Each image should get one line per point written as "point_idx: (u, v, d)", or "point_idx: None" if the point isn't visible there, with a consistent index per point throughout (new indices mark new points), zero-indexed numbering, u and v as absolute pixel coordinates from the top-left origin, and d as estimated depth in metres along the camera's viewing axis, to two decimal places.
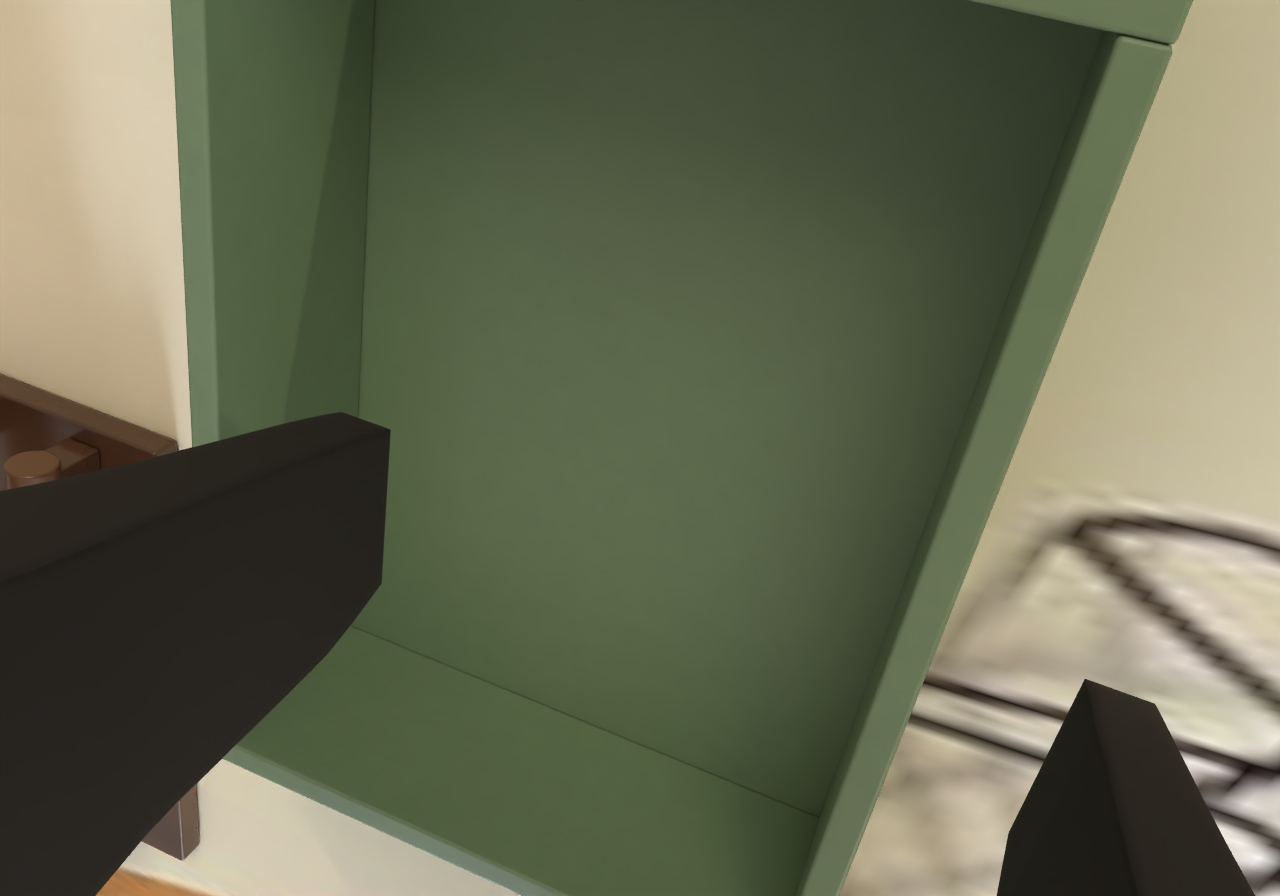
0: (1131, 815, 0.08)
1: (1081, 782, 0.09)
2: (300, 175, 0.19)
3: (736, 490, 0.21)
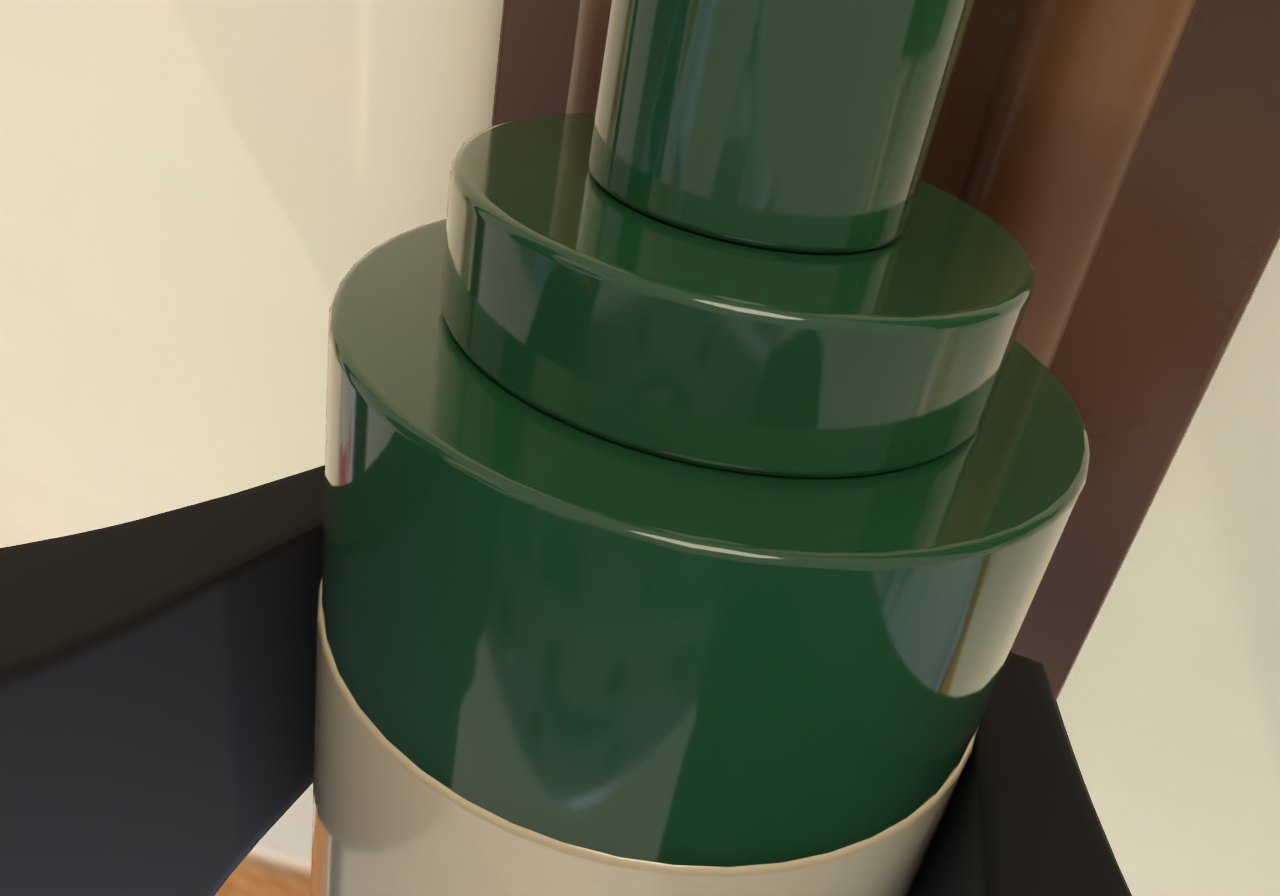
0: (993, 762, 0.08)
1: None
2: None
3: None
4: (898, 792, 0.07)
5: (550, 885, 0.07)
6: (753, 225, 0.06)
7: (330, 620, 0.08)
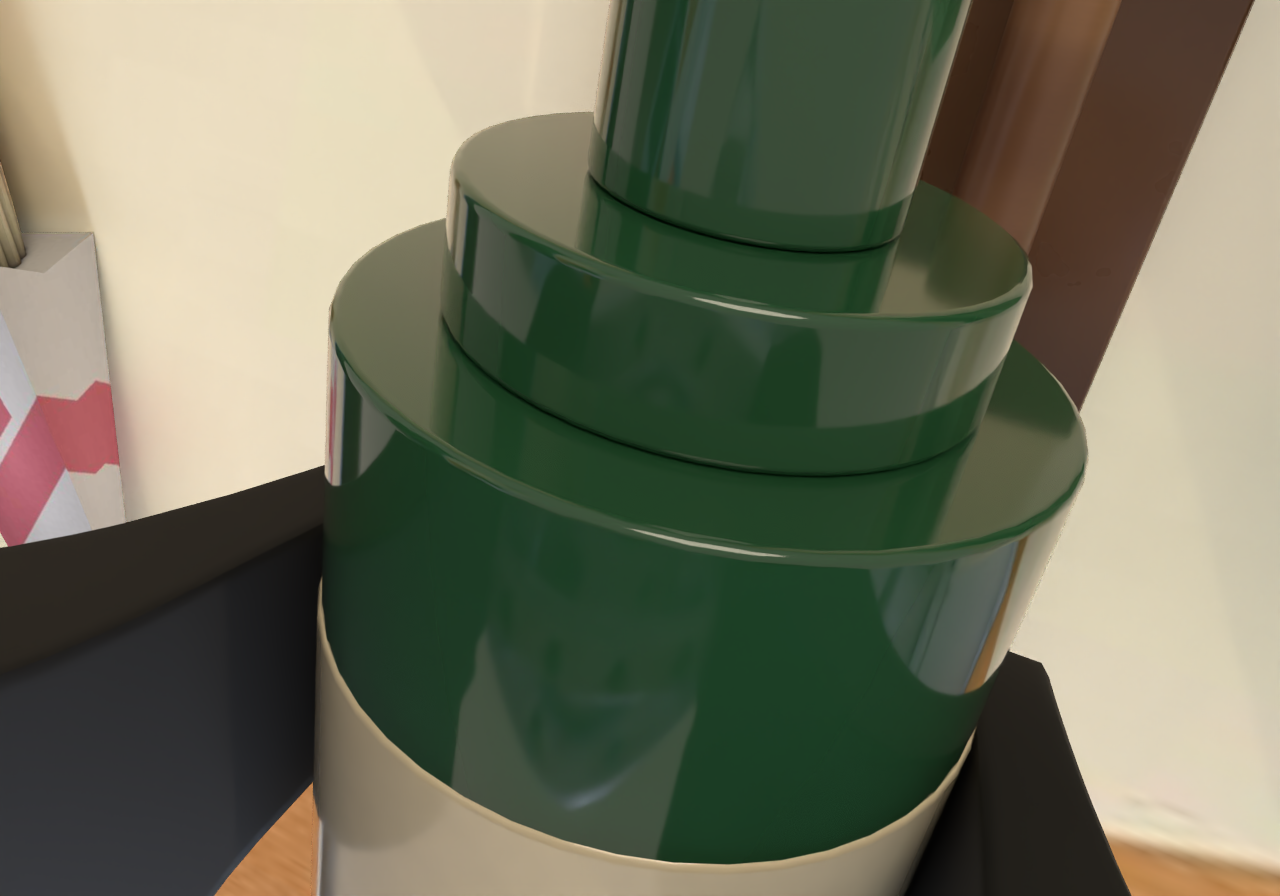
0: (992, 762, 0.08)
1: None
2: None
3: None
4: (896, 790, 0.07)
5: (549, 882, 0.07)
6: (752, 224, 0.06)
7: (329, 618, 0.08)
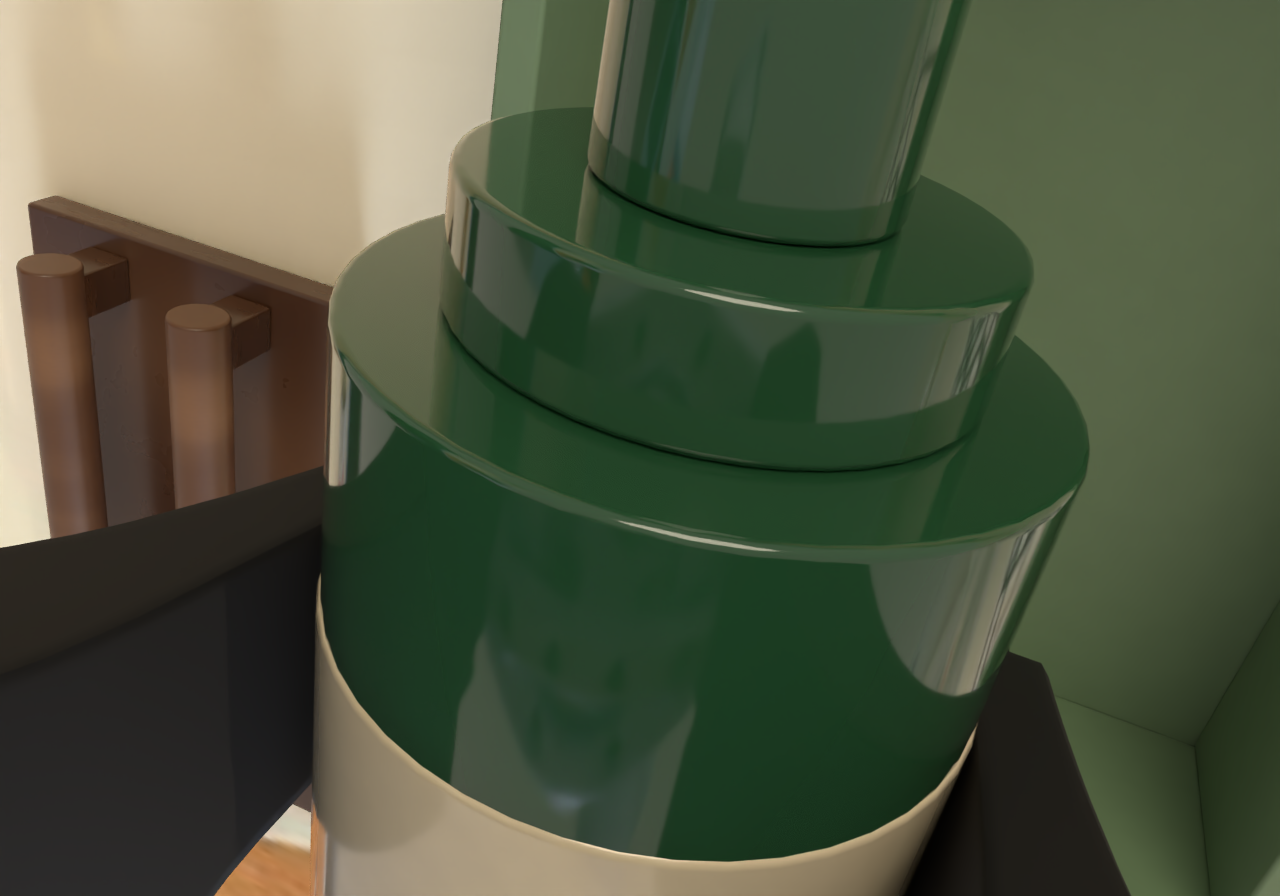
0: (992, 761, 0.08)
1: None
2: None
3: (1151, 312, 0.16)
4: (898, 788, 0.07)
5: (550, 879, 0.07)
6: (752, 218, 0.06)
7: (328, 616, 0.07)
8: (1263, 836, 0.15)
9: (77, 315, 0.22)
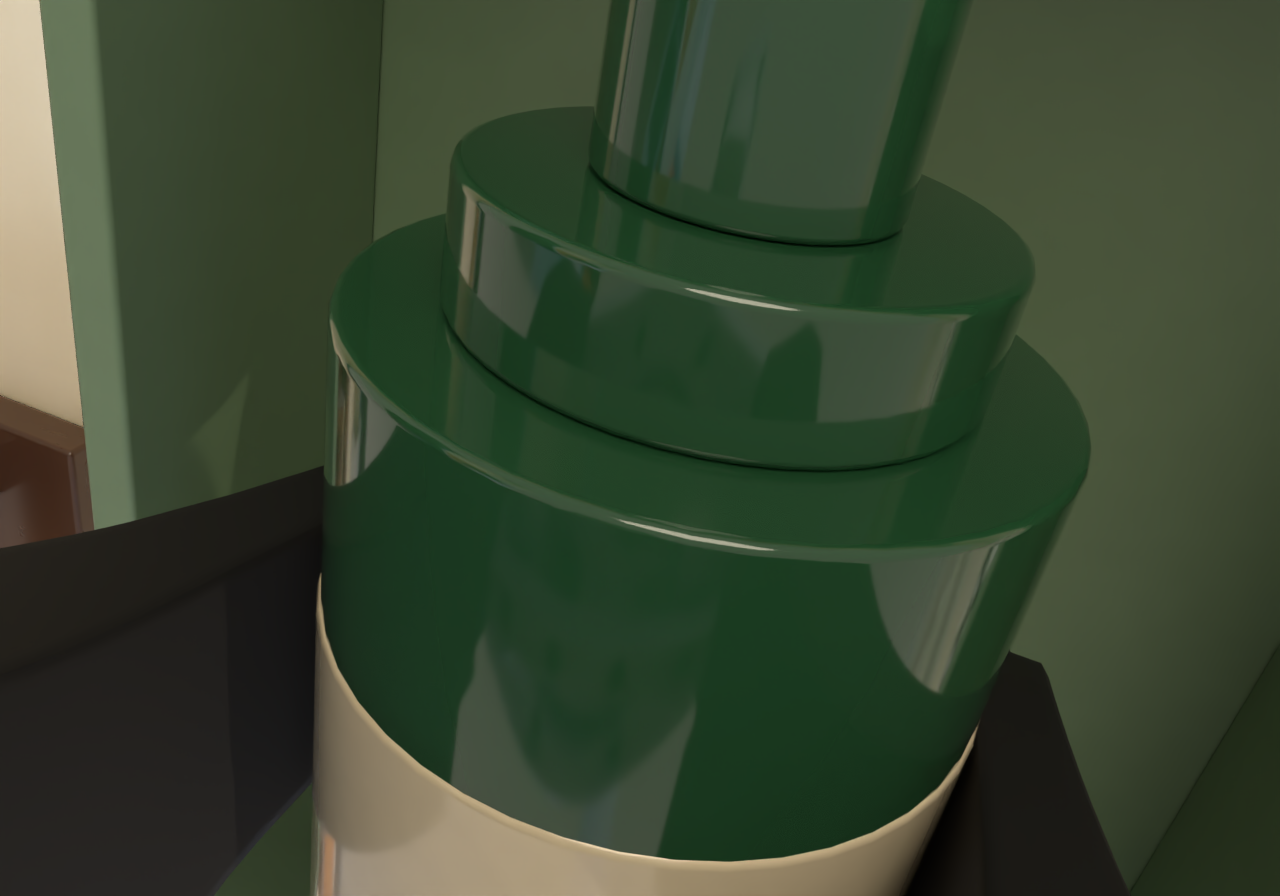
0: (992, 761, 0.08)
1: None
2: None
3: None
4: (900, 787, 0.07)
5: (552, 879, 0.07)
6: (754, 217, 0.06)
7: (327, 615, 0.07)
8: None
9: None
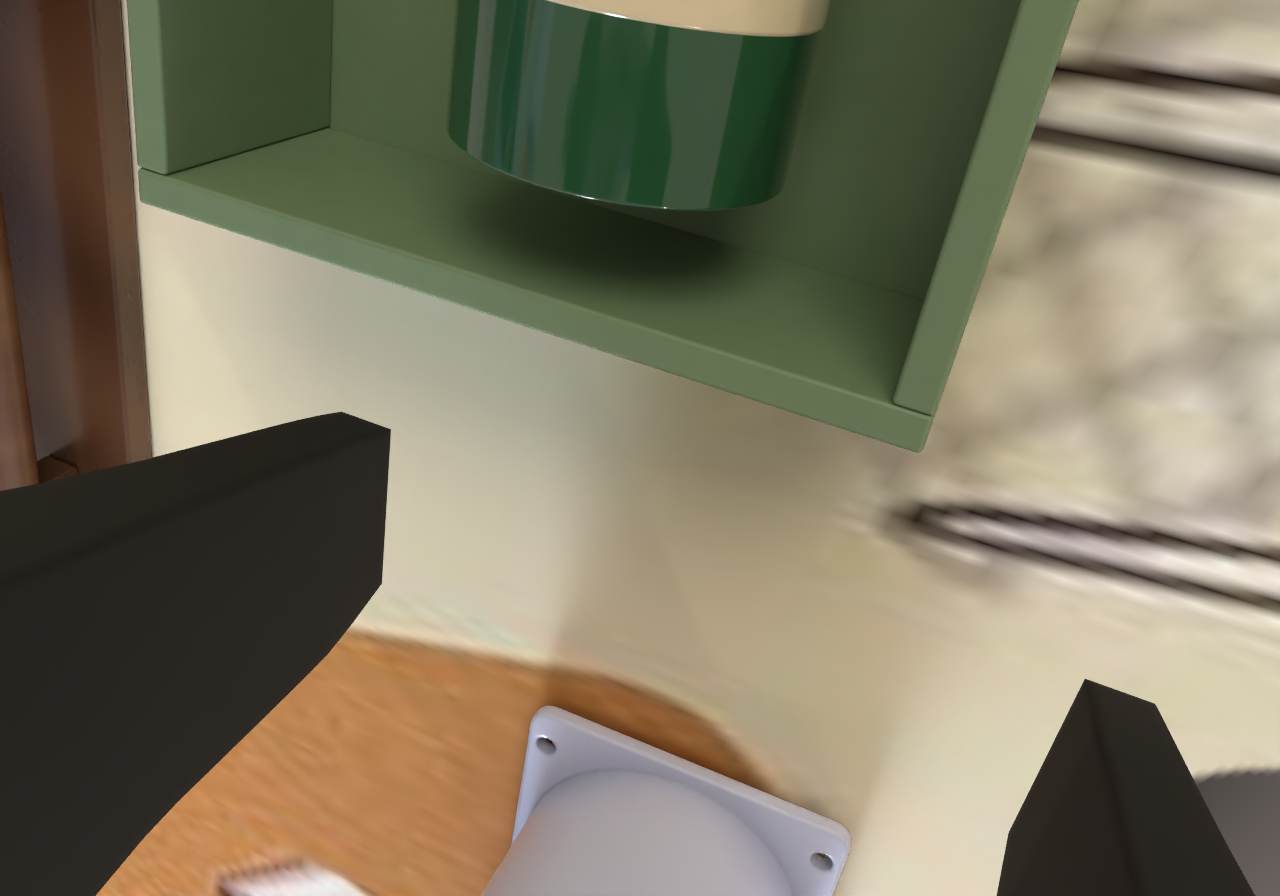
0: (1131, 815, 0.08)
1: (1081, 781, 0.09)
2: None
3: None
4: None
5: None
6: None
7: None
8: None
9: None
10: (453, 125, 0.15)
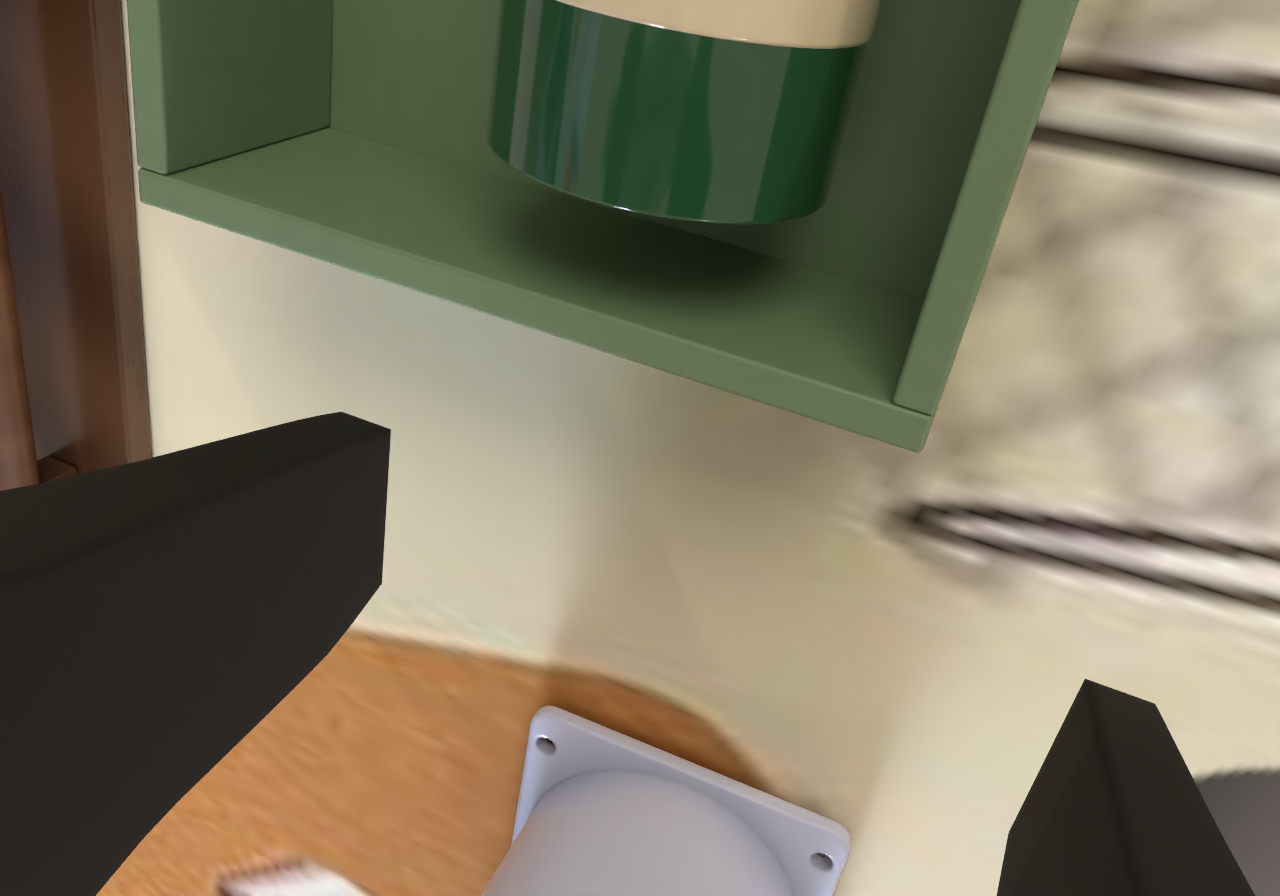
0: (1131, 815, 0.08)
1: (1081, 781, 0.09)
2: None
3: None
4: None
5: None
6: None
7: None
8: None
9: None
10: (516, 152, 0.15)
